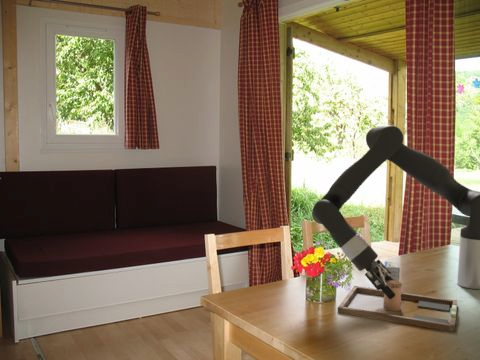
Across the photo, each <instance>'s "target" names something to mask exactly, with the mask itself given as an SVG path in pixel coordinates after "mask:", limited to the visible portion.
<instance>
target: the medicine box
mask: <svg viewBox="0 0 480 360" xmlns="http://www.w3.org/2000/svg"><path fill="white" fill-rule="evenodd" d="M384 266H385V267H386V268H387V269H388V270H389V271H390V272H391V276H392V277H391V278H393V280H396V281H399V282H400V278H401V277H400V275H401V273H400V272H401V268H400V265H399V262H397V261H388V260H387V261H384Z"/></svg>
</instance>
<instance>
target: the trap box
mask: <svg viewBox="0 0 480 360" xmlns="http://www.w3.org/2000/svg"><path fill="white" fill-rule="evenodd" d="M357 293H360V294H361V293H362V294H368V295H376V296H382V297H384V292H383V291H382V290H380V289H379V290H377V289H376V288H373V287H371V288H370V287H364V286H358V285H354V286H353V287H352V289H351V290H350V291H348V294H346V296H345V297H344V298H343V300H342V302H340V304H339V305H338V307H337V313H338V314H339V313H340V314H345V315H350V316H351V315H352V316H357V317H364V318H369V319H375V320H381V321H386V322H392V323H398V324H404V325H405V324H406V325H411V326H418V327H422V328H423V327H424V328H429V329H435V330H440V331H447V332H453V333H455V328H456V320H457V319H456V318H457V311H458V308H457V307H458V300H455V299H450V298H449V299H448V298H441V297H435V296H428V295H427V296H426V295H422V294H421V295H420V294H414V293H409V292H408V293H406V292H401V300H402V299H403V300H408V301H415V302H419V300H424V301H430V302H437V303H444V304H450V307H451V313H450V323H449V322H448V323H441V322H435V321H429V320H423V319H417V318H414V317H410V316H409V317H408V316H403V315H397V314H392V313H385V312H377V311H374V310H373V311H372V310H367V309H362V308H361V309H360V308H354V307H348V305H349V304H350V302H351V301H352V300H353V299H354V297H355V295H356V294H357Z"/></svg>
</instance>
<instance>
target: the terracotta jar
mask: <svg viewBox="0 0 480 360" xmlns="http://www.w3.org/2000/svg"><path fill="white" fill-rule="evenodd" d="M385 282H386V284H387V285H388V286H389V287H390V288H391V290H392V291H393V292H394V293H395V297H393V298H392V299H389V298H388V297H387V296H386V295H385V293H384V296H383V308H384V309H385V310H386V311H391V312H398V311H400V310H401V308H402V307H401V305H402V299H401V293H402V291H403V290H402V287H403V282H401V281H400V280H399V281H396V280H386V281H385Z"/></svg>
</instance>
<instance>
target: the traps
mask: <svg viewBox="0 0 480 360" xmlns="http://www.w3.org/2000/svg"><path fill="white" fill-rule="evenodd" d="M450 307H451V306H450V304H444V303H437V302H430V301H424V300H419V301H418V304H417V308H419V309H420V308H421V309H427V310H433V311H438V312H447V313H449V312H450ZM413 318H417V319H423V320H429V321H435V322H441V323H448V324H449V322H448V321H449V320H448V319H444V318H439V317H438V318H437V317H432V316H426V315H420V314H419V315H418V314H414V315H413Z"/></svg>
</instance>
